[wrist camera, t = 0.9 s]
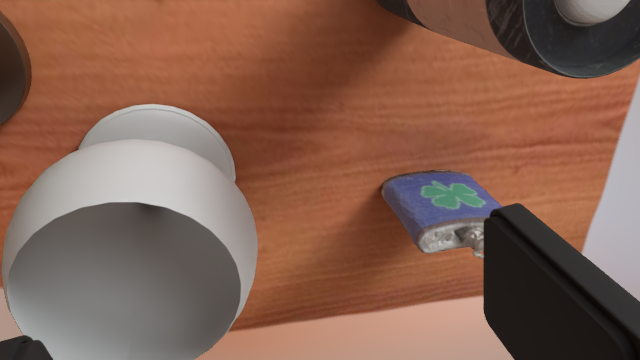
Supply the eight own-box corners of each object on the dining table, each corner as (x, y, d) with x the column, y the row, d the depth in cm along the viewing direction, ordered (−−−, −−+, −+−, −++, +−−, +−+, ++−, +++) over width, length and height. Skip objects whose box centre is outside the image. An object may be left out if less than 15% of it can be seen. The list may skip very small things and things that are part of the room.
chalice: (226, 258, 42) (233, 397, 29) (55, 235, 38) (-27, 387, 25) (264, 114, 37) (294, 204, 24) (72, 69, 33) (-20, 150, 20)
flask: (378, 200, 43) (425, 270, 34) (381, 171, 42) (432, 236, 32) (469, 195, 45) (538, 260, 36) (475, 168, 44) (548, 227, 34)
